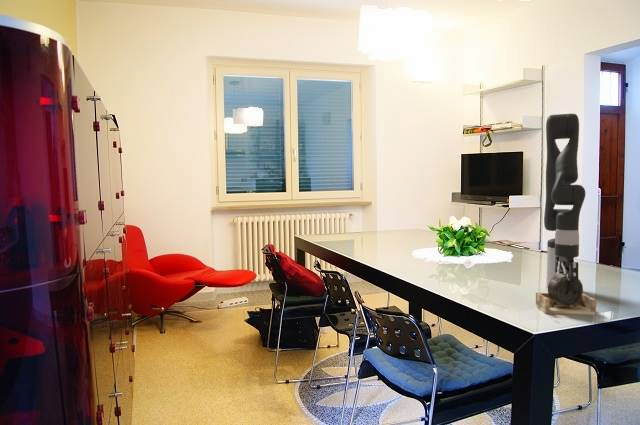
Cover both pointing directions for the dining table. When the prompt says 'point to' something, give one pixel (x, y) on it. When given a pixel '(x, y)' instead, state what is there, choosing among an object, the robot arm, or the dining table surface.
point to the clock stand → (582, 306)
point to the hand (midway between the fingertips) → (565, 288)
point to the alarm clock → (564, 291)
